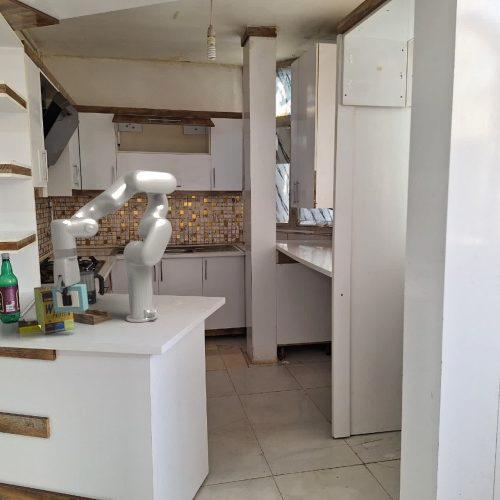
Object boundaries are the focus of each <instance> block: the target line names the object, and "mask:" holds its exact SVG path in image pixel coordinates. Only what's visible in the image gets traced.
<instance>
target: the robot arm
mask: <svg viewBox="0 0 500 500" xmlns="http://www.w3.org/2000/svg"><path fill="white" fill-rule="evenodd" d="M177 184H178V183H177V179H176V177H175V176H174V175H173V174H171V173H170V172H166V171H155V170H143V169H137V170H129V171H126V172H124V173H123V174H121V176H119V177H118V178H117V179H116V180H115V181H114V182H113V183H112V184H111V185H109V186H108V187H107V188H106V189H105V190H104V191H103V192H102V193H100V194H99V195H97V196H95V198H93V199H92V200H90V201H89V202H87V203H86V204H85V205H83V206H82V207H81V208H80V209H78V210H76V212H75V213H74V214H73V215H72V216H70V218H60V219H53V220H51V221H50V224H49V225H50V234H51V240H52V241H51V243H52V249H53V250H52V251H53V259H54V260H53V282H54V283H53V285H55V287H57V290H58V291H60V293H61V295H62V301H63V306H72V298H71V295H70V286H71V285H74V284H79V283H80V272H81V271H80V266H79V261H78V253H77V244H76V243H77V242H76V238H82V239H83V238H85V239H86V238H87V239H88V238H91V237H94V236H95V235H97V233H98V231H99V224H98V220H100V219H102V218H104V217H106V216H108V215H111V214H114V213H115V212H117V211H119V210H120V209H121V208H123V206H124V205H125V204H126V203H127V202H129V200H130V199H132V197H133V196H134V195H136V194H138V193H146V196H147V206H146V208H145V211H144V214H143V215H142V218H141V219H140V222H139V223H138V226H137V235H138V236H139V238H140V239H142V240H143V241H142V240H134V241H130V242H129V243H128V244H126V246H125V247H124V250H123V260H124V265H125V268H126V274H127V275H126V276H127V289H128V292H127V293H128V304H129V314H128V315H127V316H126V318H125V319H126V321H127V322H131V323H145V322H149V321H150V322H151V321H153V320H156V319H158V317H159V315H161V312H160V310H157V309H156V306H154V305H155V304H154V292H153V276H152V270H151V267H153V266H156V265H157V264H158V263H159V262H160V261H161V260H162V257H163V255H164V253H165V250H166V249H167V246H168V244H169V242H170V240H171V237H172V235H173V233H172V232H173V229H172V224H171V221H170V220H169V219H167V218H166V217H167V214H168V212H169V202H168V201H169V200H168V197H167V195H170V194H172V193H173V192H175V190H176V188H177V186H178V185H177ZM63 285H65V286H63ZM64 288H67V290H66V289H64Z"/></svg>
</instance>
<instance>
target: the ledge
mask: <svg viewBox="0 0 500 500" xmlns="http://www.w3.org/2000/svg"><path fill="white" fill-rule="evenodd" d="M110 320H111V311H109V310H103V309H96V308H90V307H89V308H88V309H87V310H85V311H84V313H83V312H79V311H73V322H76V323H81V324H88V325H93V326H94V325H98V324H101V323H104V322H108V321H110Z"/></svg>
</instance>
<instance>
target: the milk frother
mask: <svg viewBox="0 0 500 500" xmlns="http://www.w3.org/2000/svg"><path fill="white" fill-rule="evenodd" d="M79 272H80V283H79V284H86V289H87V298H88V305H92V304H96V303H97V302H98V300H97V291H96V290H97V289H96V280H95V279H98V288H99V289H98V293H99V295H100V296H104V295H105V278H104V276H103V275H102V274H99V273H95V272H94V271H90V270H89V271H79Z"/></svg>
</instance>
